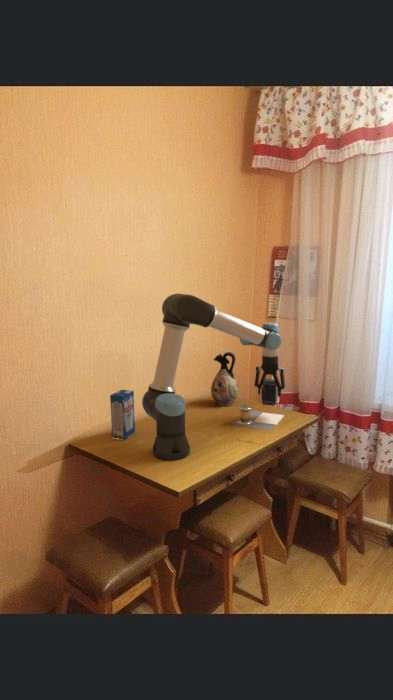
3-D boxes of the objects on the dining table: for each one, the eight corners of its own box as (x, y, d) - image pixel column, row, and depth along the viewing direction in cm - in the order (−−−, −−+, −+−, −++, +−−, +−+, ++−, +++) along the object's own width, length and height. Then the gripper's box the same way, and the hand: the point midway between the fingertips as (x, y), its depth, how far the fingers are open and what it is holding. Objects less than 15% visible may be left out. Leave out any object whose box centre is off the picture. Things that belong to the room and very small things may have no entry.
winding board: (232, 427, 203) (232, 423, 203) (249, 413, 224) (249, 409, 224) (271, 433, 195) (271, 429, 195) (285, 417, 216) (285, 414, 216)
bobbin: (235, 424, 203) (235, 407, 202) (240, 419, 210) (240, 403, 208) (249, 426, 200) (249, 409, 199) (254, 421, 207) (254, 405, 205)
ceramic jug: (206, 406, 237) (206, 352, 232) (216, 399, 251) (216, 348, 246) (236, 409, 230) (236, 354, 225) (244, 402, 244) (244, 350, 239)
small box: (276, 405, 203) (276, 384, 201) (262, 405, 204) (262, 383, 202) (276, 399, 213) (276, 378, 211) (263, 399, 214) (263, 378, 213)
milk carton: (123, 431, 200) (121, 389, 196) (135, 432, 198) (133, 390, 194) (112, 438, 190) (110, 395, 187) (124, 440, 188) (122, 396, 185)
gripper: (293, 355, 204) (291, 402, 208) (252, 352, 212) (252, 397, 216) (289, 358, 197) (288, 406, 201) (247, 355, 206) (247, 401, 209)
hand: (269, 401), depth 208 cm, fingers closed on small box, 7 cm apart
